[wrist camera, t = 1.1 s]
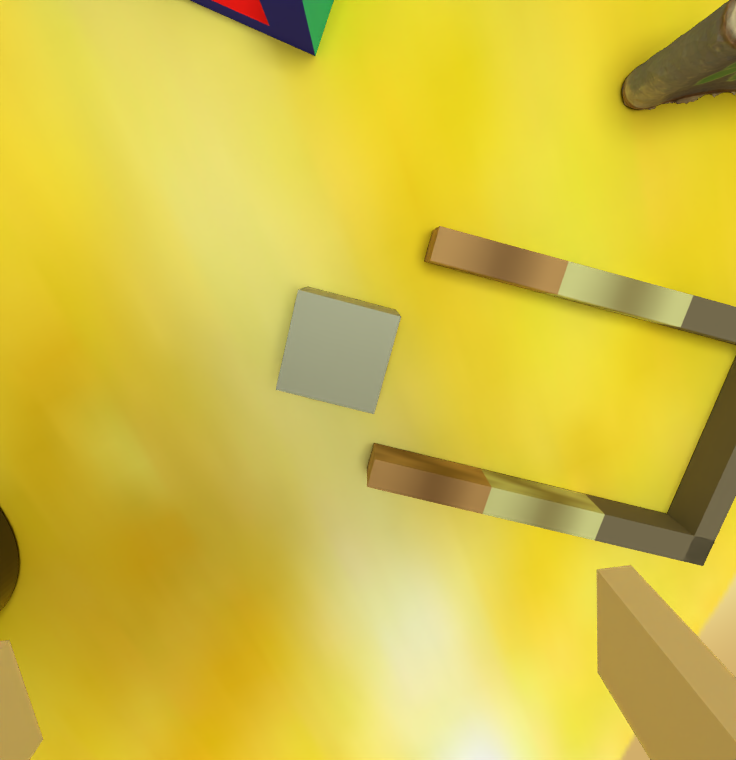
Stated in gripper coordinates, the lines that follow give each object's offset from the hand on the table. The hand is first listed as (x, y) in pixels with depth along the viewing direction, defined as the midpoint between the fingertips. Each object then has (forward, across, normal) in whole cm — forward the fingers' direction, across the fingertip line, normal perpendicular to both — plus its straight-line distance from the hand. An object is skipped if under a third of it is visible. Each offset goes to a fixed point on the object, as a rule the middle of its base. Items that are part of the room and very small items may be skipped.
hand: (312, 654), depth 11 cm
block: (+23, 0, +4) cm, 24 cm away
